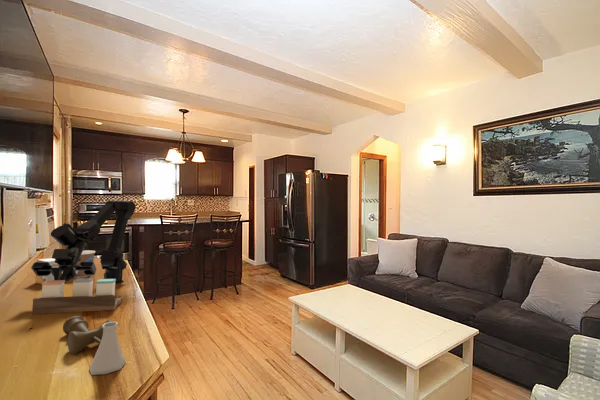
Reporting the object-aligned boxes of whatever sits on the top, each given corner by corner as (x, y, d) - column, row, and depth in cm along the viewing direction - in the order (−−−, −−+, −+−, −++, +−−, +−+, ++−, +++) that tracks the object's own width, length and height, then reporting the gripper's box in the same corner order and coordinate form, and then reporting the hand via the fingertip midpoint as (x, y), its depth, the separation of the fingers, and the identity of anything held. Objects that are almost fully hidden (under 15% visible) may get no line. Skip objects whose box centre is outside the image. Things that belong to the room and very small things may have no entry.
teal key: (98, 301, 105) (99, 279, 105) (114, 300, 106) (115, 278, 107) (94, 304, 102) (96, 281, 102) (111, 303, 103) (112, 281, 103)
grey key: (75, 300, 105) (77, 278, 105) (92, 299, 106) (93, 277, 106) (71, 303, 102) (73, 280, 102) (88, 302, 103) (89, 280, 103)
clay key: (46, 303, 100) (47, 280, 101) (63, 302, 102) (65, 280, 102) (40, 306, 97) (42, 282, 98) (58, 305, 99) (60, 282, 99)
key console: (46, 305, 104) (47, 291, 104) (121, 301, 110) (122, 288, 110) (32, 314, 95) (33, 298, 95) (114, 309, 102) (114, 295, 102)
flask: (85, 379, 63) (88, 333, 63) (91, 362, 69) (94, 320, 69) (124, 371, 66) (126, 327, 66) (126, 356, 72) (129, 316, 73)
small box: (34, 283, 129) (36, 259, 129) (49, 280, 134) (51, 257, 134) (45, 285, 126) (47, 261, 126) (60, 282, 131) (61, 259, 131)
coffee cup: (83, 279, 139) (85, 254, 139) (62, 278, 139) (64, 253, 139) (98, 274, 149) (100, 250, 149) (79, 273, 149) (80, 250, 149)
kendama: (91, 328, 88) (122, 347, 77) (51, 341, 80) (79, 363, 69) (92, 309, 88) (122, 325, 77) (52, 319, 80) (79, 338, 69)
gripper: (36, 239, 104) (13, 277, 93) (95, 240, 110) (80, 276, 99) (47, 257, 112) (27, 294, 101) (102, 257, 117) (88, 292, 106)
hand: (55, 289), depth 101 cm, fingers closed, pressing on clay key
